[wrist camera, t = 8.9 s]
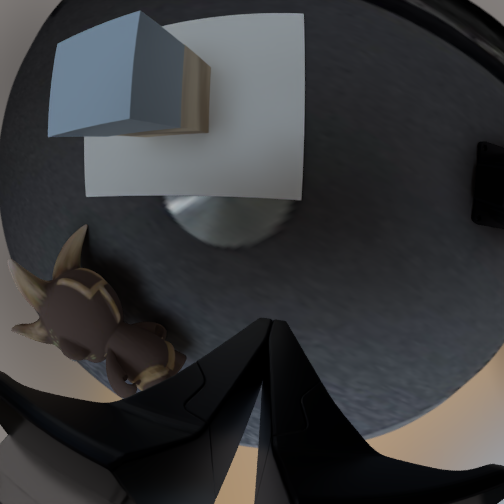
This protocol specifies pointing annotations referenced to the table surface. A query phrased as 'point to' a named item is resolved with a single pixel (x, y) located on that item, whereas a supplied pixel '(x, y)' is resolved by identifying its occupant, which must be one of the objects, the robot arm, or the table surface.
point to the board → (222, 120)
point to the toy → (94, 323)
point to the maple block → (190, 99)
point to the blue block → (117, 80)
